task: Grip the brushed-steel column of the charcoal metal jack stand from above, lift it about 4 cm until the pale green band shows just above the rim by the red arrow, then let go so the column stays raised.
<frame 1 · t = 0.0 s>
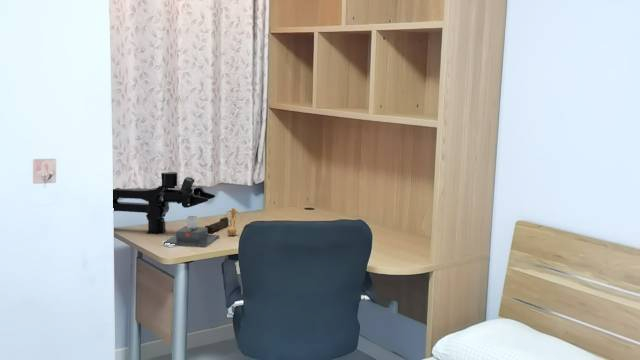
hand: (211, 198, 306), 17 cm above the table, tool horizontal, fingers open, 9 cm apart
stand: (192, 241, 298), on the table
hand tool: (217, 230, 320), on the table
figurine: (232, 235, 310), on the table
column: (192, 227, 297), point 6 cm above the table, slide at 0.0 cm
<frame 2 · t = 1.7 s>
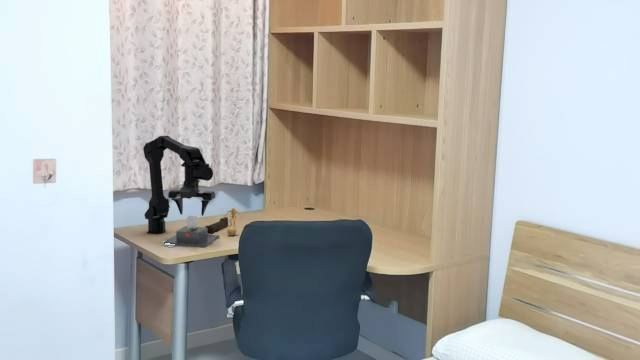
hand: (191, 215, 296), 11 cm above the table, tool pointing down, fingers open, 9 cm apart
nothing on the table moved.
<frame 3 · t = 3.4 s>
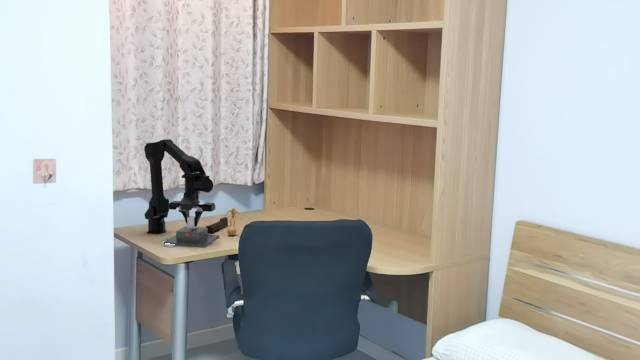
hand: (192, 226, 297), 6 cm above the table, tool pointing down, fingers closed on column, 3 cm apart
column: (192, 227, 297), point 6 cm above the table, slide at 0.0 cm, touching gripper
everything else where it was.
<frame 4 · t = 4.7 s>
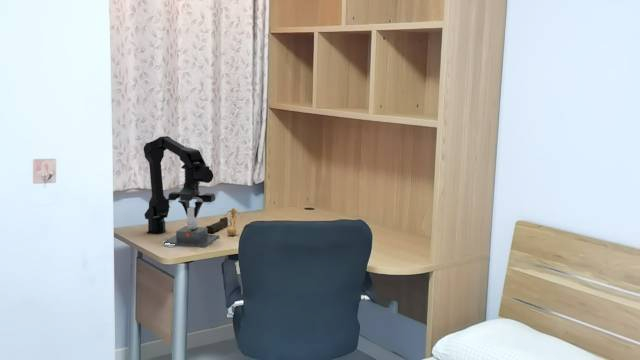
hand: (192, 217, 296), 10 cm above the table, tool pointing down, fingers closed on column, 3 cm apart
column: (192, 218, 296), point 10 cm above the table, slide at 3.9 cm, touching gripper
everything else where it was.
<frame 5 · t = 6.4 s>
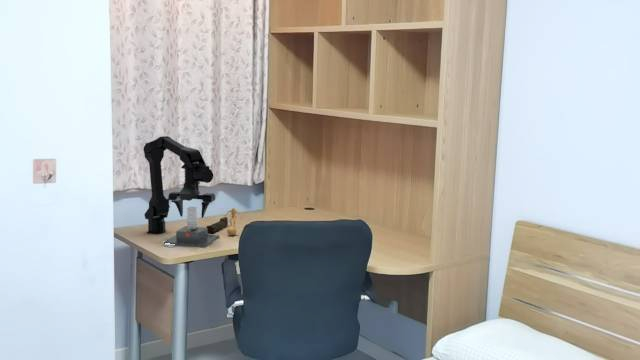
hand: (192, 217, 296), 10 cm above the table, tool pointing down, fingers open, 9 cm apart
column: (192, 218, 296), point 10 cm above the table, slide at 3.9 cm
everything else where it was.
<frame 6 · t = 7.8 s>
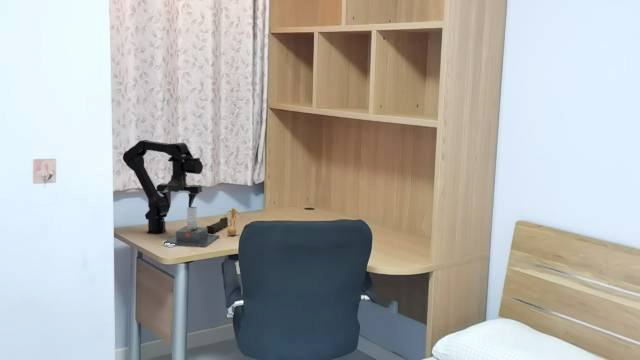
hand: (179, 208, 306), 12 cm above the table, tool pointing down, fingers open, 9 cm apart
nothing on the table moved.
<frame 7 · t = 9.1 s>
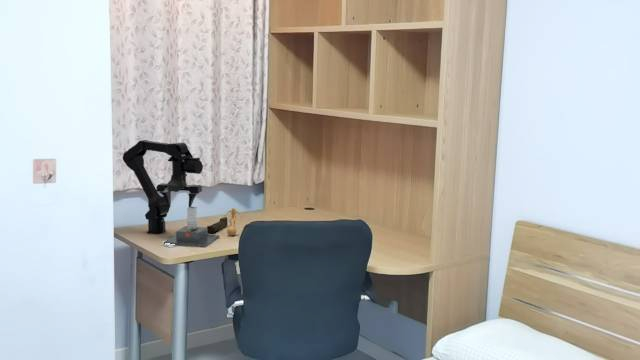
hand: (179, 207, 306), 12 cm above the table, tool pointing down, fingers open, 9 cm apart
nothing on the table moved.
at the end: column slide at 3.9 cm; the gripper is holding nothing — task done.
